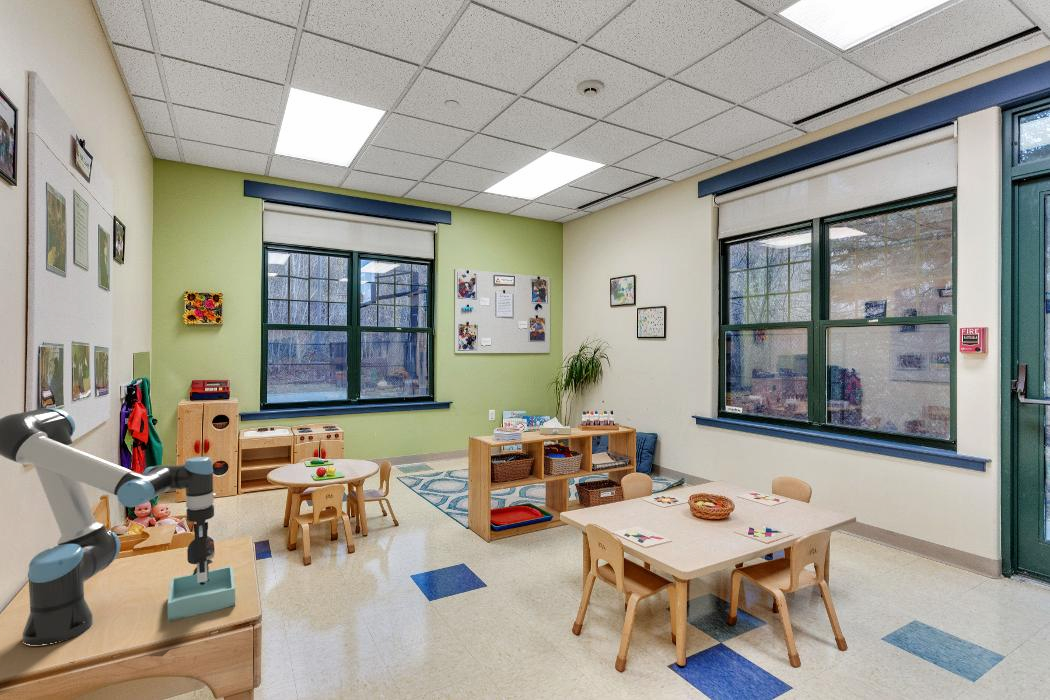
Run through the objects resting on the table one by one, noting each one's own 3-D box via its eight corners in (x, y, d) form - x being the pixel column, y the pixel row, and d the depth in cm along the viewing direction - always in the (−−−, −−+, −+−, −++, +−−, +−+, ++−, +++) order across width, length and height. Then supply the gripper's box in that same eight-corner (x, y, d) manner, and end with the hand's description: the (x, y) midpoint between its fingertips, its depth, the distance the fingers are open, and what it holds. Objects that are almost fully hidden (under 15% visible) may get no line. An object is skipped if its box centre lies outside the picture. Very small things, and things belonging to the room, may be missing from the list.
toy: (205, 589, 164) (203, 542, 164) (181, 589, 164) (179, 542, 164) (223, 576, 173) (221, 531, 173) (199, 576, 173) (198, 531, 173)
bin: (168, 621, 156) (167, 603, 156) (171, 594, 172) (171, 578, 172) (235, 605, 166) (234, 588, 165) (232, 581, 182) (232, 565, 181)
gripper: (214, 513, 161) (216, 586, 162) (213, 495, 179) (215, 561, 179) (185, 518, 157) (187, 592, 158) (187, 499, 175) (189, 567, 175)
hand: (202, 576), depth 169 cm, fingers closed on toy, 7 cm apart
